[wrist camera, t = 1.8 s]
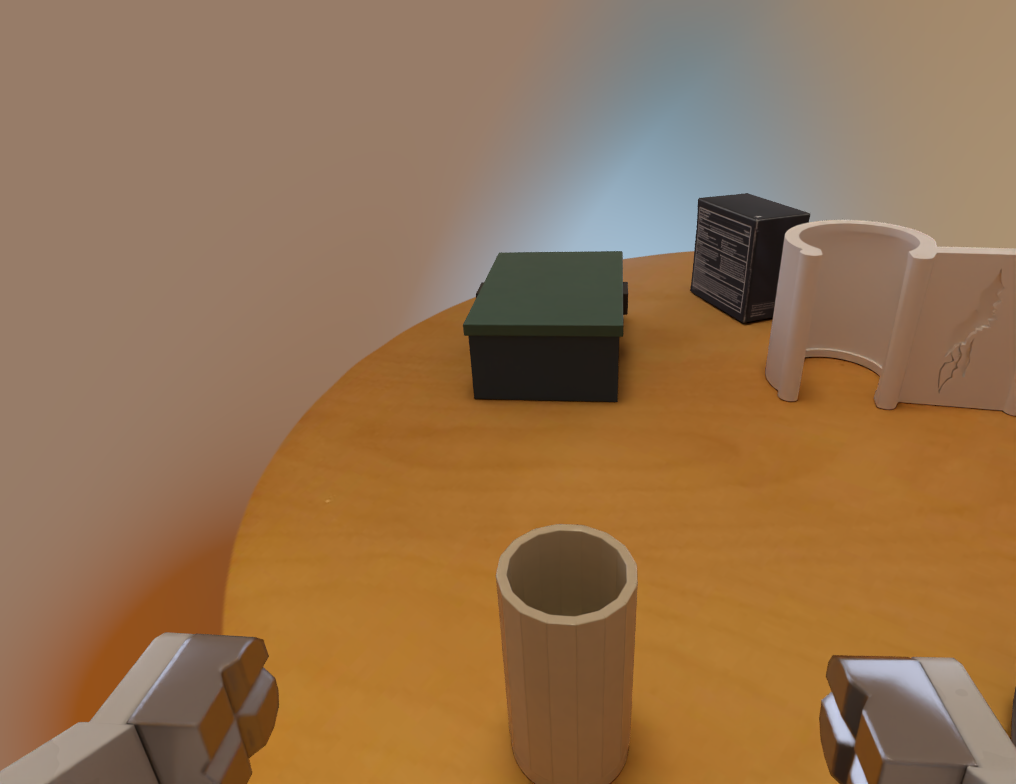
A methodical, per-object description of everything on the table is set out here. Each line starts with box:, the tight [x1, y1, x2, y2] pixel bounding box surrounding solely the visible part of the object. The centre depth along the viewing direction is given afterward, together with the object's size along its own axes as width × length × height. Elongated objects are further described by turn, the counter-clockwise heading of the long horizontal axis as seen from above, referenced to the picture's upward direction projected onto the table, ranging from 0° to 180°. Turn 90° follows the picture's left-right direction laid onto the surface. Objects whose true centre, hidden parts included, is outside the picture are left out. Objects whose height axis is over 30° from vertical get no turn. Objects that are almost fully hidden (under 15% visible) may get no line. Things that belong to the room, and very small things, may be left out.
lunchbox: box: [463, 251, 628, 402], centre depth 63 cm, size 19×14×7 cm
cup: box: [496, 524, 638, 784], centre depth 28 cm, size 5×5×10 cm
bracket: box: [765, 220, 1016, 416], centre depth 52 cm, size 25×10×12 cm, turn 74°
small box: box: [690, 193, 810, 323], centre depth 70 cm, size 11×6×10 cm, turn 17°
